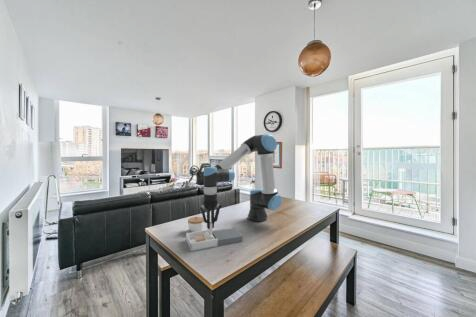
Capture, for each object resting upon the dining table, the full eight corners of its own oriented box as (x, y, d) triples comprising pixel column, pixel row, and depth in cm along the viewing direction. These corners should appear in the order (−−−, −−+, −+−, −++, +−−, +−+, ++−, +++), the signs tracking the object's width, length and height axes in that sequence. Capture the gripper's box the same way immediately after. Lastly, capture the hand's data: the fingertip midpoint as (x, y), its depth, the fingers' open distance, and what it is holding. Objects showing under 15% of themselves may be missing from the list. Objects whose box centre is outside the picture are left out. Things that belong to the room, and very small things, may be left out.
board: (233, 232, 130) (233, 227, 130) (242, 241, 117) (242, 236, 117) (211, 236, 124) (211, 231, 124) (218, 245, 111) (218, 240, 111)
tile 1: (195, 236, 116) (195, 241, 116) (196, 240, 111) (196, 244, 111) (203, 235, 118) (203, 239, 118) (205, 238, 113) (205, 243, 113)
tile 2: (210, 238, 119) (212, 234, 120) (212, 242, 114) (214, 238, 115) (203, 235, 117) (205, 231, 118) (205, 238, 113) (207, 234, 113)
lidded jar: (207, 229, 134) (207, 215, 134) (196, 235, 125) (196, 220, 125) (195, 226, 140) (195, 213, 139) (184, 232, 130) (184, 217, 130)
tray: (210, 235, 124) (210, 229, 124) (217, 246, 110) (217, 239, 110) (186, 239, 118) (186, 233, 118) (190, 251, 105) (190, 243, 104)
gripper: (219, 191, 122) (219, 229, 122) (197, 193, 117) (198, 233, 117) (223, 193, 115) (223, 234, 115) (200, 195, 110) (200, 238, 110)
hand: (210, 233), depth 116 cm, fingers closed
